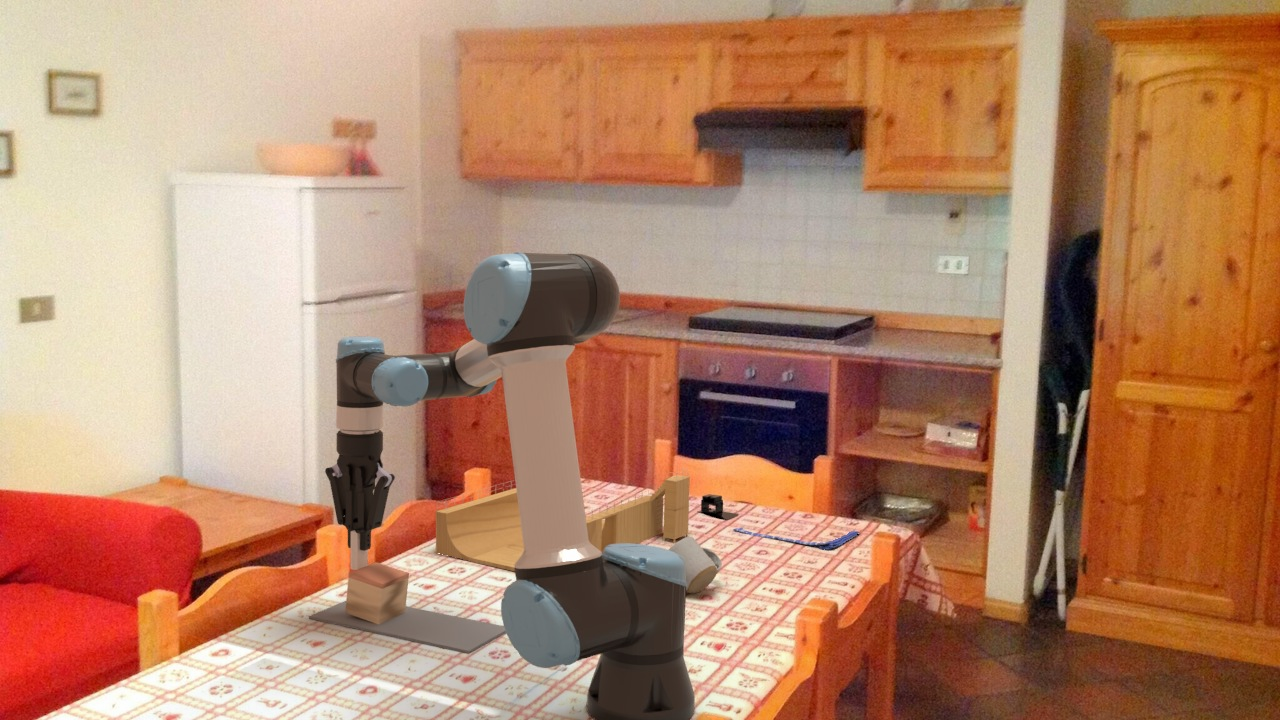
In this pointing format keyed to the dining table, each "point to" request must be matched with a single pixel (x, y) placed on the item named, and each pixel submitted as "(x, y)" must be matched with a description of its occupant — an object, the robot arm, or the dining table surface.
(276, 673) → the dining table surface
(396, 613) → the wooden cube
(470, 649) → the slate mat
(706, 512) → the black boxy piece
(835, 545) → the dish towel
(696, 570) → the ceramic mug
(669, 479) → the skate ramp
